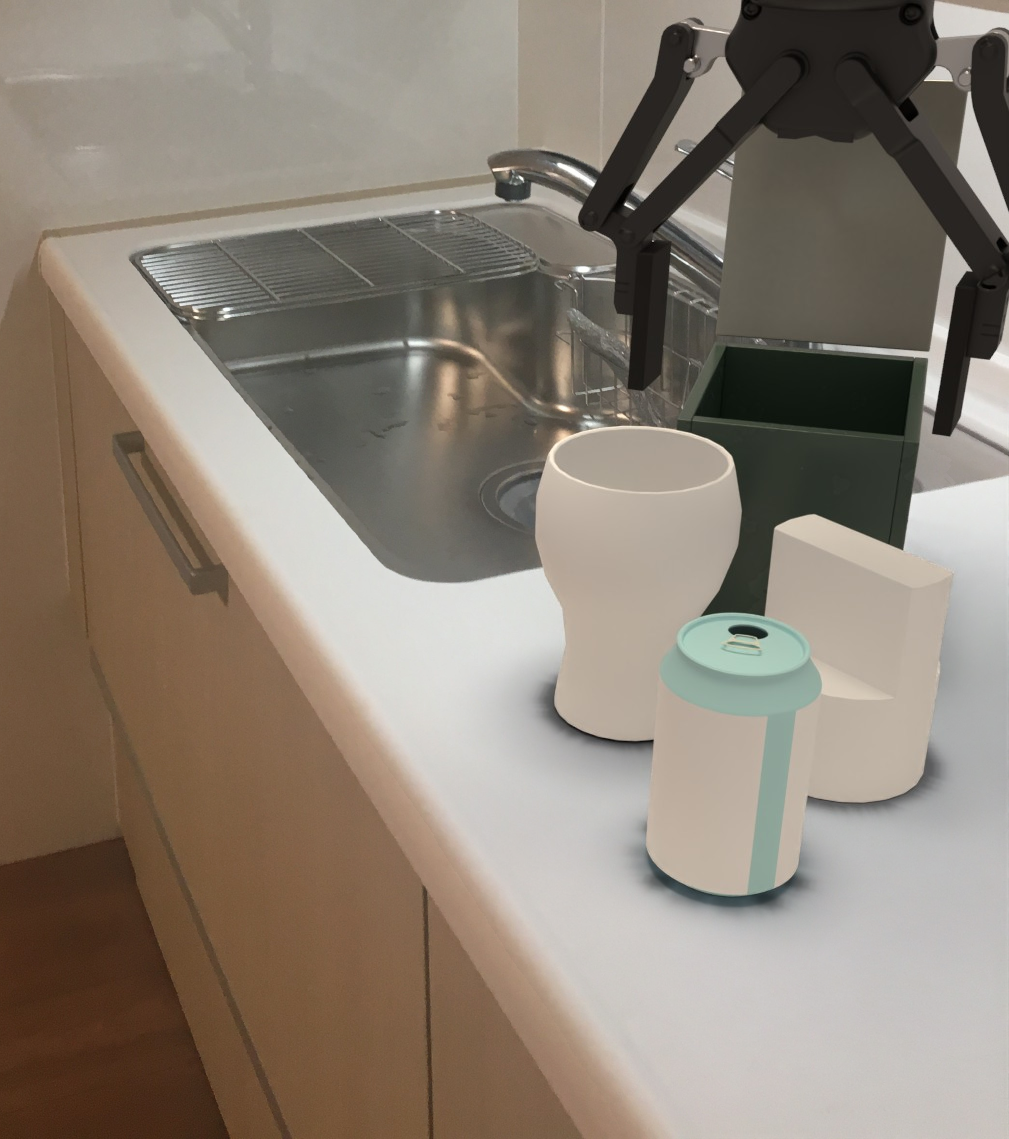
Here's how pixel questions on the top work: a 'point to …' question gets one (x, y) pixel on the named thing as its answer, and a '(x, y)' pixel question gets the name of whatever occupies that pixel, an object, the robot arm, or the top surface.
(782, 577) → the base with upright slab
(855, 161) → the bin lid
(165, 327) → the top surface
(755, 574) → the bin
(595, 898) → the top surface
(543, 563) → the cup
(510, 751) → the top surface
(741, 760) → the can
